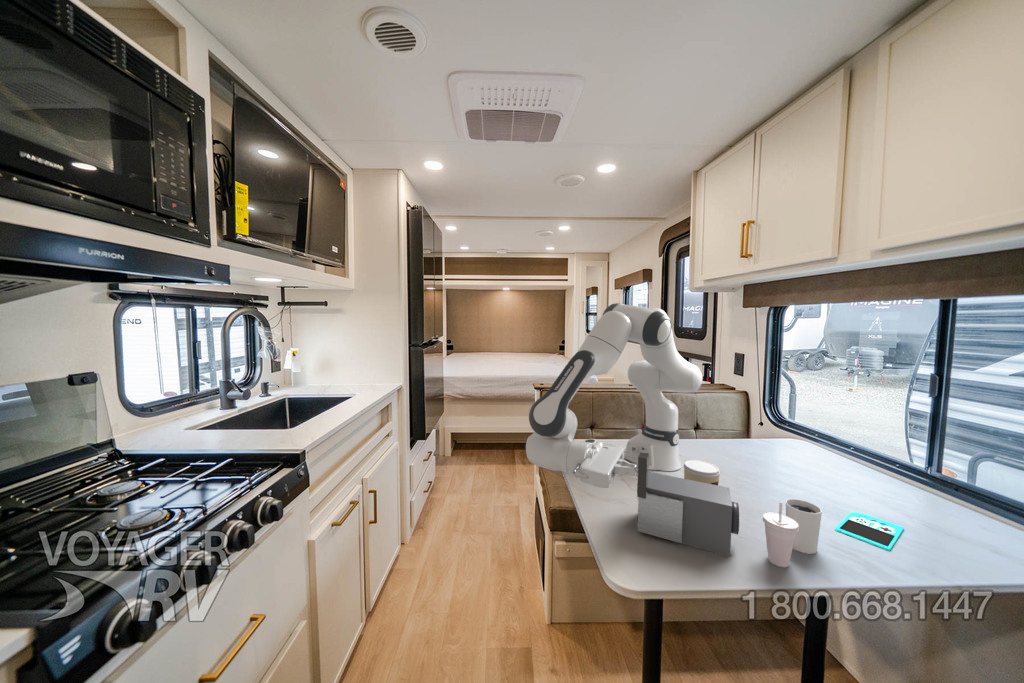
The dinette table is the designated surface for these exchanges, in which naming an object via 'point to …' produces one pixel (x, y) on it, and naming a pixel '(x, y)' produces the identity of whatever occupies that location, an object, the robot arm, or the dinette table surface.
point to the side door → (657, 508)
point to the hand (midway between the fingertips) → (636, 470)
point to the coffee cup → (701, 472)
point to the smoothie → (779, 537)
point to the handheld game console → (870, 530)
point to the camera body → (701, 511)
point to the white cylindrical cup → (805, 524)
